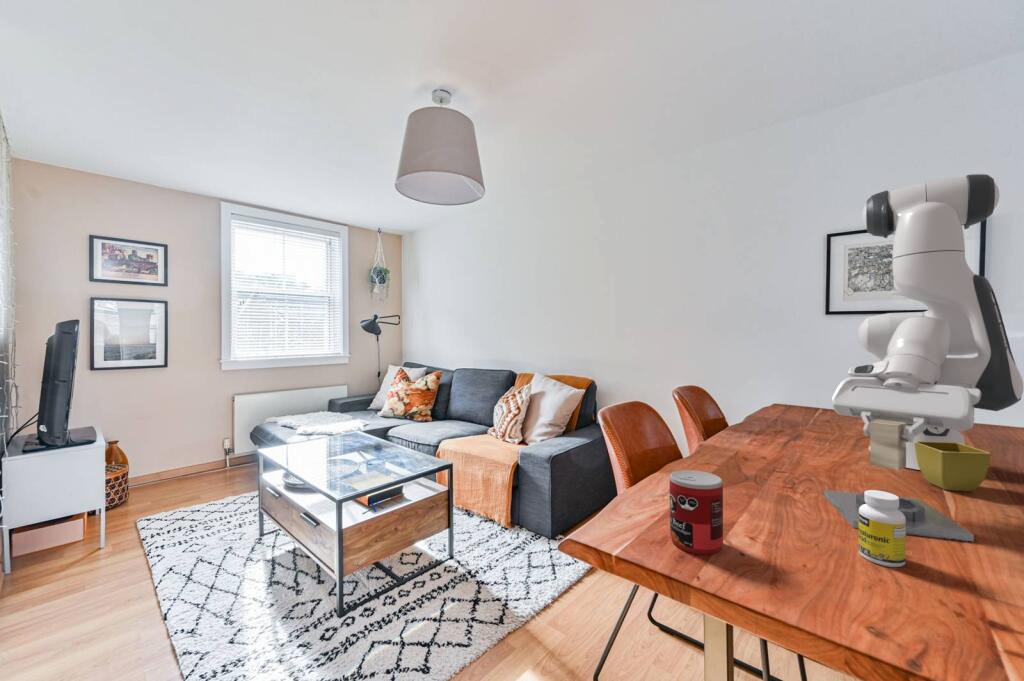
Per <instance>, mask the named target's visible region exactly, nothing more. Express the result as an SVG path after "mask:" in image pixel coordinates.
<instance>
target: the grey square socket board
mask: <svg viewBox="0 0 1024 681" xmlns="http://www.w3.org/2000/svg"><path fill="white" fill-rule="evenodd" d="M864 493H865V492H862V493H860V492H850V491H839V490H829V489H823V496H824V498H825V499H826V500H827V501H828V502H829V503H830V504H831V505H832V506H833V507H834V508H835V510H837V511H838V513H839V514H840V515H841V516H842V517H843V518H844V519H845V520H846V521H847V523H849V525H850V526H851V527H852V528H853V529H859V508H860V506H861V505H863V504H867V503H866V502H865V499H864ZM897 496H898V495H897ZM898 497H899V508H897V510H899V511H901V512H902V513H903V514H904V516H905V519H906V535H911V536H919V537H927V538H928V537H929V538H936V539H943V540H944V538H945V539H946V540H951V539H955V540H954V541H959V540H961V541H960V542H968V541H971V542H970V543H974V541H975V538H974V534H973V533H972V532H970V531H969V530H967V529H966V528H964V527H963V526H961V525H960V524H958V523H957V522H955V521H954V520H953V519H951V518H950V517H948V516H947V515H945V514H943V513H942V512H941V511H939V510H937V509H936V508H935V507H933V506H932V505H930V504H928V502H926V501H925V500H923V499H921V498H913V497H902V496H898Z"/></svg>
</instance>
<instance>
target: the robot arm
mask: <svg viewBox="0 0 1024 681" xmlns="http://www.w3.org/2000/svg"><path fill="white" fill-rule="evenodd" d="M999 200H1000V189H999V187H998V185H997V183H996V181H995V179H994V178H993V177H992V176H990V175H989V174H983V173H980V174H979V173H977V174H974V173H973V174H967V175H966V176H959V177H958V176H957V177H949V178H942V179H941V178H940V179H934V180H933V179H932V180H927V181H925V182H922V183H915V184H912V185H907V186H902V187H899V188H896V189H893V190H892V189H891V190H889V191H888V190H887V189H886V190H884V191H880V192H878V193H874V194H873V195H871V196H870V197H869V198H868V199H866V203H865V204H864V207H863V209H862V213H861V220H862V224H863V227H864V229H866V231H867V233H868V234H870V235H872V236H874V237H880V238H881V237H882V238H884V239H888V237H890V236H894V237H893V244H892V254H891V255H892V261H891V262H892V276H893V288H894V290H895V291H896V293H898V294H899V295H901V296H903V297H904V298H906V299H907V298H908V299H909V300H910V299H911V300H913V301H918V302H920V303H922V304H923V305H926V307H927V310H926V311H918V312H917V311H915V312H914V311H913V312H912V311H911V312H887V313H883V314H876V315H872V316H868V317H865V319H864V320H863V321H862V322H861V323H860V325H859V327H858V329H857V330H858V331H857V337H858V338H857V339H858V342H859V343H860V346H862V347H863V349H864V350H866V351H868V352H869V353H870V354H872V355H874V356H875V357H876V358H878V359H879V360H880V361H877V362H873V363H867V364H861V365H855V366H851V367H850V368H848V370H847V375H848V377H846V378H843V379H842V380H841V381H840V383H839V384H838V385H837V388H836V389H835V390H834V392H833V394H832V397H831V400H830V404H831V407H832V408H833V410H834V411H835V413H836V415H837V414H838V415H839V416H847V417H855V418H862V421H863V422H864V426H863V428H862V433H863V434H864V436H869V437H870V422H872V421H875V420H886V421H894V422H902V423H906V429H904V428H902V430H901V433H900V438H901V440H902V441H906V467H905V468H907V469H911V470H918V471H921V470H920V468H919V466H918V463H917V457H916V451H915V444H914V442H915V441H922V442H953V443H960V444H964V445H966V444H965V438H964V435H963V434H962V432H959V431H963V432H965V431H968V430H970V429H972V428H973V427H974V424H975V423H974V422H975V409H980V410H985V411H986V410H987V411H994V412H999V411H1002V410H1005V409H1007V408H1009V407H1012V406H1013V405H1016V404H1017V403H1019V402H1020V401H1021V399H1022V396H1023V393H1024V381H1023V378H1022V374H1021V372H1020V370H1019V369H1018V366H1017V364H1016V361H1015V359H1014V356H1013V352H1012V349H1011V345H1010V342H1009V338H1008V335H1007V331H1006V327H1005V324H1004V321H1003V317H1002V313H1001V310H1000V306H999V303H998V301H997V297H996V295H995V291H994V289H993V287H992V285H991V282H989V280H988V279H987V278H986V277H985V276H983V275H979V274H976V273H975V272H973V270H972V269H971V268H970V267H969V265H968V262H967V258H966V247H965V246H966V245H965V244H966V243H965V235H964V230H968V229H969V228H970V226H973V225H976V224H979V223H981V222H982V223H983V222H984V221H985V220H987V219H988V218H989V217H991V216H992V215H993V213H994V211H995V209H996V207H997V206H998V204H999V202H1000V201H999ZM975 354H977V356H974V357H947V356H967V355H968V356H969V355H975ZM868 451H870V445H869V446H868Z"/></svg>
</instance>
